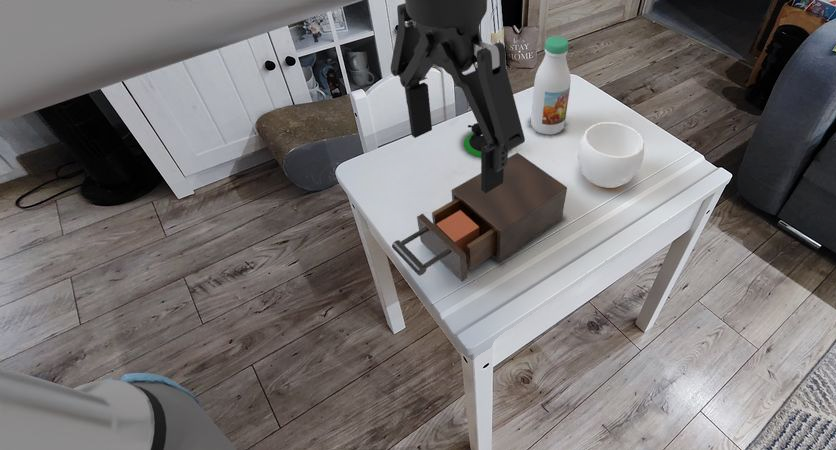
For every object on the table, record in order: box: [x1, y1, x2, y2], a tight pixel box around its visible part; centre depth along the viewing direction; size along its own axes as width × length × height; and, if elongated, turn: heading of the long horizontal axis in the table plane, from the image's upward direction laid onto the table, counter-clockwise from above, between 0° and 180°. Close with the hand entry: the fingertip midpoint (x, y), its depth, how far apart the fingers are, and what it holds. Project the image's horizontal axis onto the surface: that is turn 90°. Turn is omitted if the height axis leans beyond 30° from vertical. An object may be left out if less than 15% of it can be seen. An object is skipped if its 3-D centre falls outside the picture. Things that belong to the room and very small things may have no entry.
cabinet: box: [451, 152, 568, 264], centre depth 81 cm, size 16×13×8 cm
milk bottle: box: [530, 35, 572, 135], centre depth 97 cm, size 8×8×20 cm
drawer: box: [391, 198, 497, 282], centre depth 76 cm, size 21×11×6 cm, turn 132°
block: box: [436, 210, 479, 255], centre depth 76 cm, size 5×5×5 cm
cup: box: [577, 121, 645, 189], centre depth 89 cm, size 12×12×10 cm
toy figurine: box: [463, 122, 496, 158], centre depth 97 cm, size 10×10×6 cm
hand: (455, 158), depth 56 cm, fingers open, 13 cm apart
